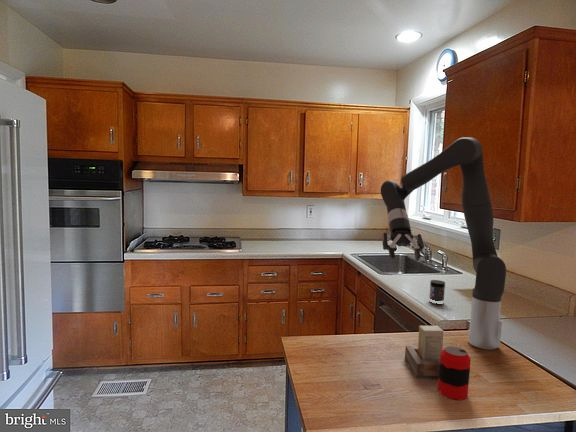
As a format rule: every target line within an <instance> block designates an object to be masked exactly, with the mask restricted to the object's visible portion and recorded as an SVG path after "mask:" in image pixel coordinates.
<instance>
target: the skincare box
mask: <svg viewBox="0 0 576 432" xmlns="http://www.w3.org/2000/svg"><path fill="white" fill-rule="evenodd" d="M443 342H444V330H443V329H442V328H441V327H440V326H439V325H418V342H417V344H418V345H417V346H418V356H419V357H420V359H421V360H422V361H436V362H440V355H441V351H442V349H443V348H444V347H443V346H444V345H443V344H444V343H443Z"/></svg>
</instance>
